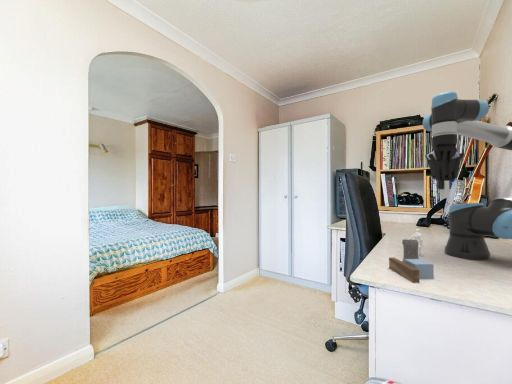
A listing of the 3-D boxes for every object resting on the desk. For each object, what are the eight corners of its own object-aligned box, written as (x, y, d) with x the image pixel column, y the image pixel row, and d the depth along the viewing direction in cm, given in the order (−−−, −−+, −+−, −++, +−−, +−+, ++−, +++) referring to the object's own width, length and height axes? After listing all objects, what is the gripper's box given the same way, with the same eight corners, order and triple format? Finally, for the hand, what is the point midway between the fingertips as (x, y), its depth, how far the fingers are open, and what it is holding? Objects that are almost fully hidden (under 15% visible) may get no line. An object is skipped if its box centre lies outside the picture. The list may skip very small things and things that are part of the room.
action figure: (425, 255, 105) (424, 229, 105) (421, 257, 103) (421, 229, 103) (409, 252, 110) (408, 227, 110) (405, 254, 108) (405, 228, 108)
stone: (420, 267, 90) (420, 241, 90) (403, 265, 92) (403, 240, 92) (417, 264, 94) (418, 239, 93) (401, 263, 95) (401, 238, 95)
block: (421, 272, 85) (421, 258, 85) (433, 279, 79) (433, 264, 79) (404, 272, 85) (404, 259, 85) (415, 279, 79) (415, 264, 79)
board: (394, 267, 90) (394, 257, 90) (419, 282, 76) (419, 270, 76) (389, 268, 90) (389, 257, 90) (413, 282, 76) (413, 270, 76)
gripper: (453, 137, 93) (453, 197, 93) (419, 137, 93) (420, 197, 93) (470, 132, 85) (470, 198, 85) (434, 133, 85) (434, 198, 86)
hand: (444, 197), depth 89 cm, fingers closed
